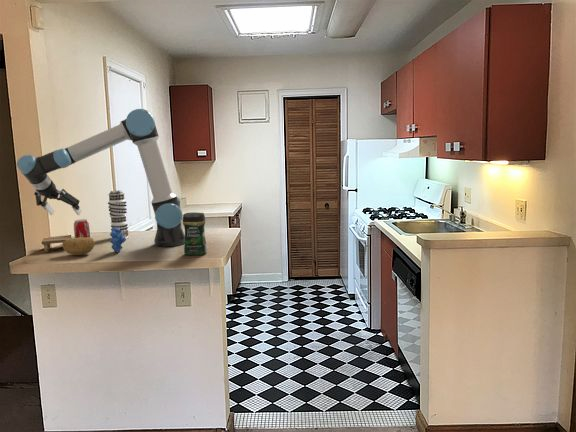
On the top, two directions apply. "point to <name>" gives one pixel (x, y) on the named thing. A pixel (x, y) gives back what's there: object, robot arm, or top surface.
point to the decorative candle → (118, 212)
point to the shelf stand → (54, 241)
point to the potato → (78, 245)
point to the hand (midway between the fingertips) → (66, 213)
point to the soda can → (81, 228)
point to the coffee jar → (194, 233)
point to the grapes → (117, 239)
